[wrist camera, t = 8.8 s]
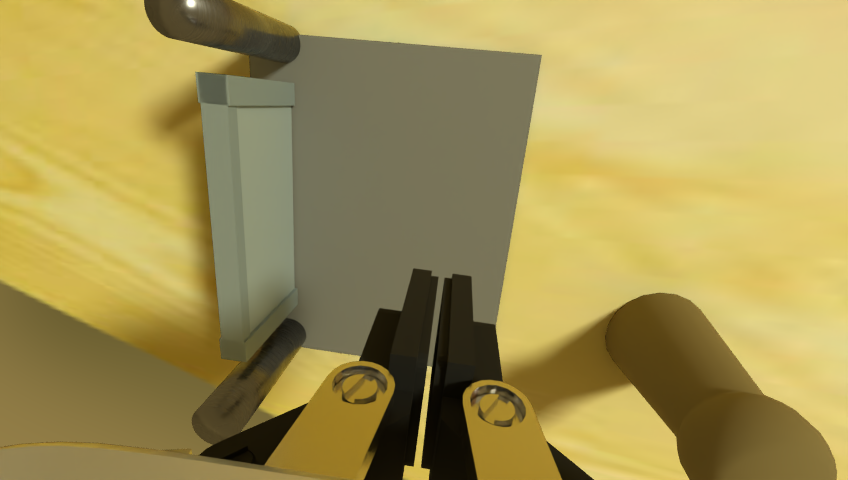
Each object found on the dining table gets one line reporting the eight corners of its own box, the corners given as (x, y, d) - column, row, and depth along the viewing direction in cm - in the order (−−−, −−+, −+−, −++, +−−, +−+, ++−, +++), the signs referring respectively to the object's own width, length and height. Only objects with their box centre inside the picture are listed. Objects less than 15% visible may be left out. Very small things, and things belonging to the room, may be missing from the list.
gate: (270, 80, 23) (195, 71, 17) (294, 83, 23) (227, 74, 16) (277, 301, 27) (221, 358, 21) (297, 304, 27) (246, 362, 21)
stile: (249, 260, 27) (146, 331, 19) (307, 268, 27) (230, 344, 18) (253, 339, 29) (163, 436, 21) (308, 347, 29) (238, 449, 20)
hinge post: (267, 22, 22) (140, -29, 14) (302, 25, 22) (195, -25, 14) (269, 62, 23) (148, 36, 14) (302, 65, 23) (201, 41, 14)
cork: (591, 362, 27) (666, 527, 16) (627, 282, 24) (739, 411, 14) (681, 386, 26) (817, 569, 16) (725, 307, 24) (913, 457, 14)
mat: (250, 31, 22) (248, 30, 22) (540, 55, 21) (541, 55, 21) (265, 339, 29) (263, 341, 29) (487, 372, 28) (487, 374, 27)
